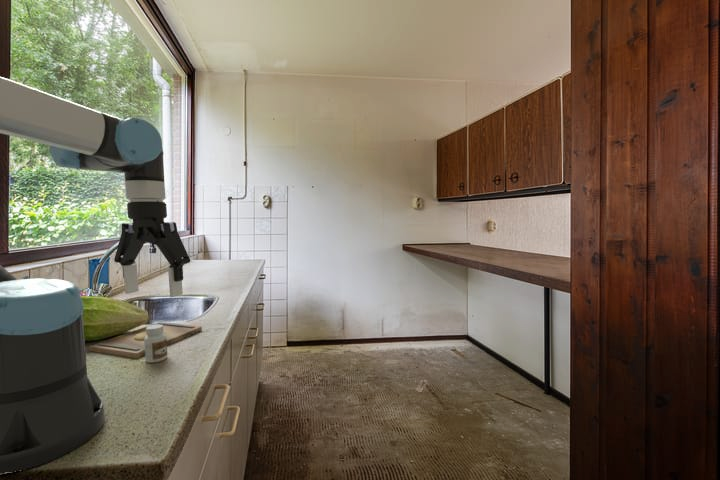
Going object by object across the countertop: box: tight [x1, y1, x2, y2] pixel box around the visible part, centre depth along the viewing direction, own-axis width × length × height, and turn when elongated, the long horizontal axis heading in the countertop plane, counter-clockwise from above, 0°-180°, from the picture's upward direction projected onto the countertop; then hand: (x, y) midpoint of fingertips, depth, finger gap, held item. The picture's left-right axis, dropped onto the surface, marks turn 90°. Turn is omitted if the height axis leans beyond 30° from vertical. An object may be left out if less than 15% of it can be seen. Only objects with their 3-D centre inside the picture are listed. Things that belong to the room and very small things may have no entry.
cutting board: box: [89, 321, 203, 359], centre depth 92 cm, size 20×16×2 cm
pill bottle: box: [144, 324, 168, 363], centre depth 79 cm, size 4×4×8 cm
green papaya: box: [80, 295, 150, 342], centre depth 94 cm, size 13×22×14 cm
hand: (153, 294), depth 78 cm, fingers open, 13 cm apart
